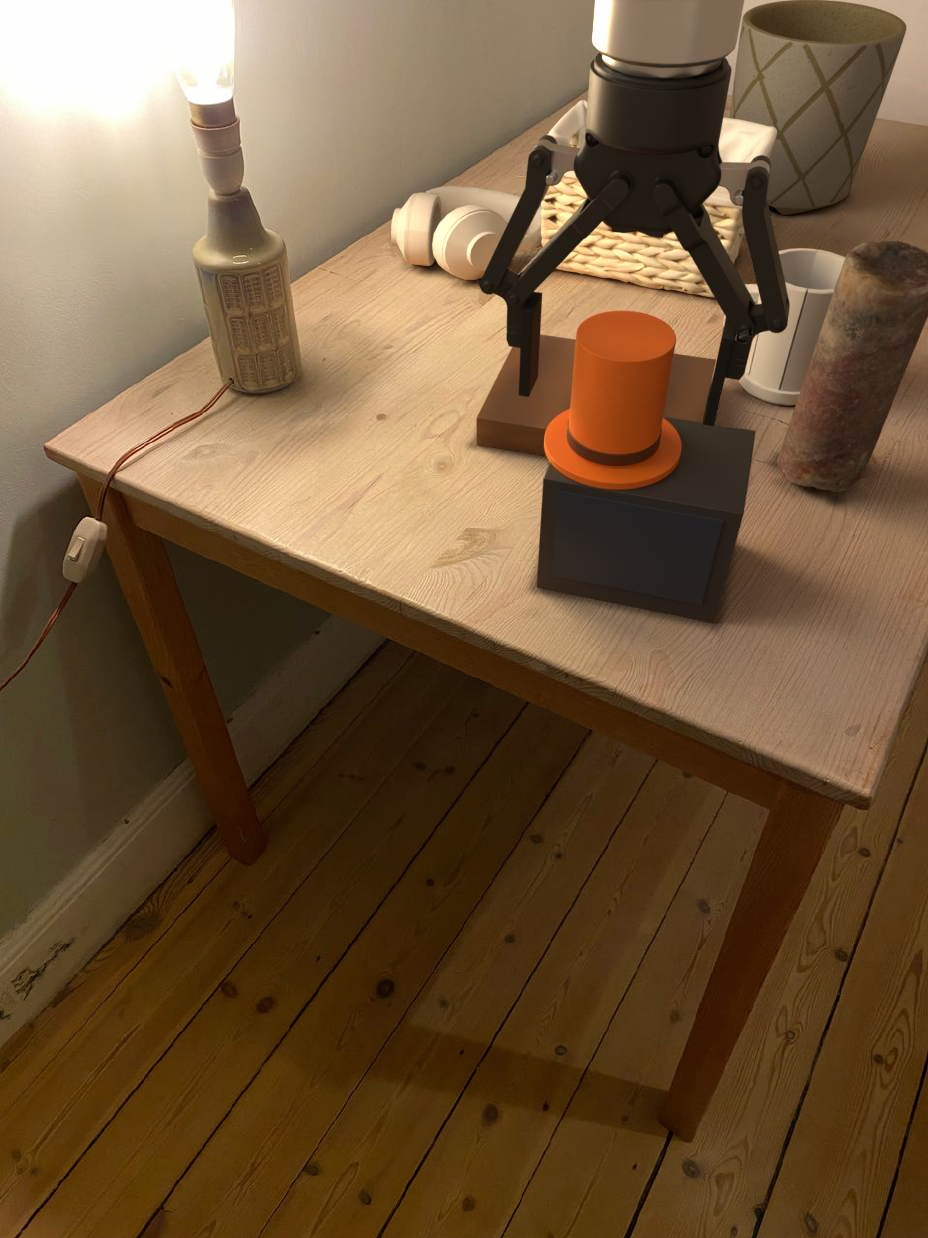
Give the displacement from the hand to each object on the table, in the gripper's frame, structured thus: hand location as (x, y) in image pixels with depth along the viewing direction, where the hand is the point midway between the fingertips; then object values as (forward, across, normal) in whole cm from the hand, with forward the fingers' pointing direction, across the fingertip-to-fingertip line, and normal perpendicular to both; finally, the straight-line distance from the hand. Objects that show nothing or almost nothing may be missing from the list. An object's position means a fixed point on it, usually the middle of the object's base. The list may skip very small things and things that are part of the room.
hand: (617, 400), depth 64 cm
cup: (+15, -12, -30) cm, 36 cm away
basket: (+15, +5, -53) cm, 55 cm away
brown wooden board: (+15, +4, -20) cm, 25 cm away
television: (+15, -3, 0) cm, 15 cm away
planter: (+15, -10, -79) cm, 81 cm away
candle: (+15, -17, -16) cm, 28 cm away
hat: (+4, 0, 0) cm, 4 cm away
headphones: (+15, +26, -50) cm, 58 cm away
